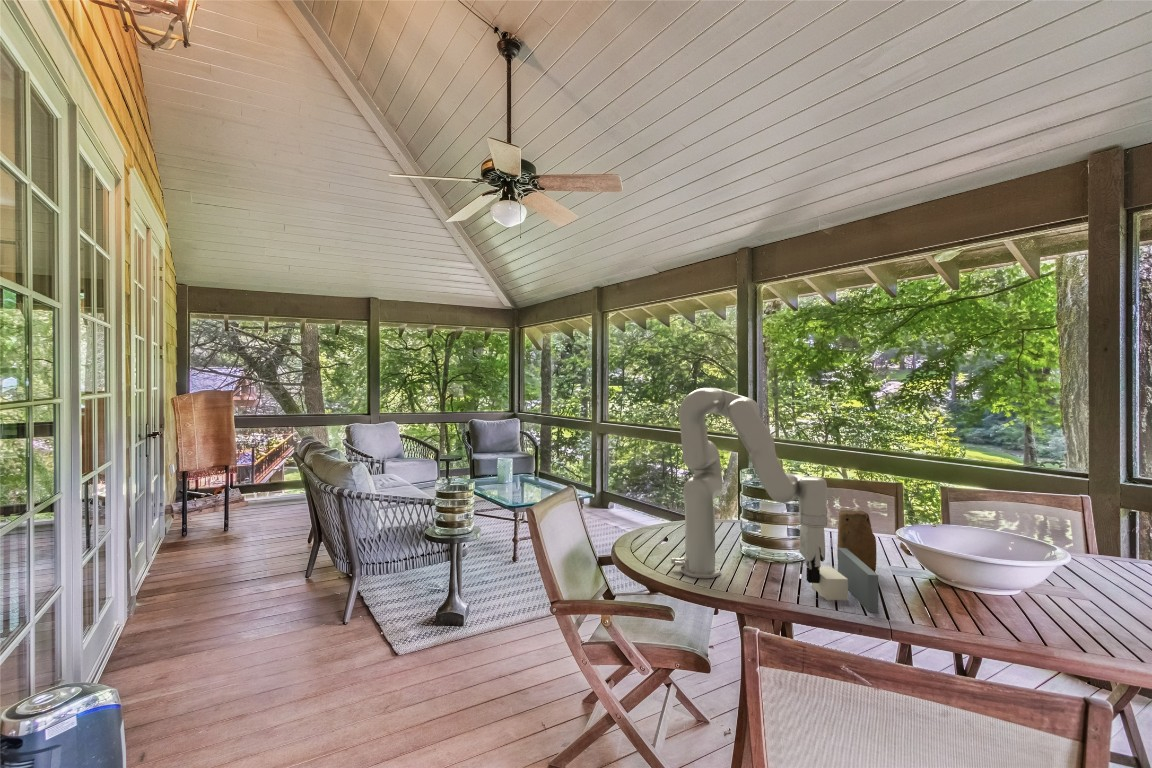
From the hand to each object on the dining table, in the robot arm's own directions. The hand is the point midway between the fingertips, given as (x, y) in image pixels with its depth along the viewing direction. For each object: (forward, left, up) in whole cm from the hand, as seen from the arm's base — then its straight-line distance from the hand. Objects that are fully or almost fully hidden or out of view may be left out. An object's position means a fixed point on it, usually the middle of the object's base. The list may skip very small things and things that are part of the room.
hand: (813, 581), depth 157 cm
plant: (+54, +45, -4) cm, 71 cm away
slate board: (+12, 0, -3) cm, 12 cm away
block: (+19, +19, -3) cm, 27 cm away
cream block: (+5, 0, -3) cm, 6 cm away
